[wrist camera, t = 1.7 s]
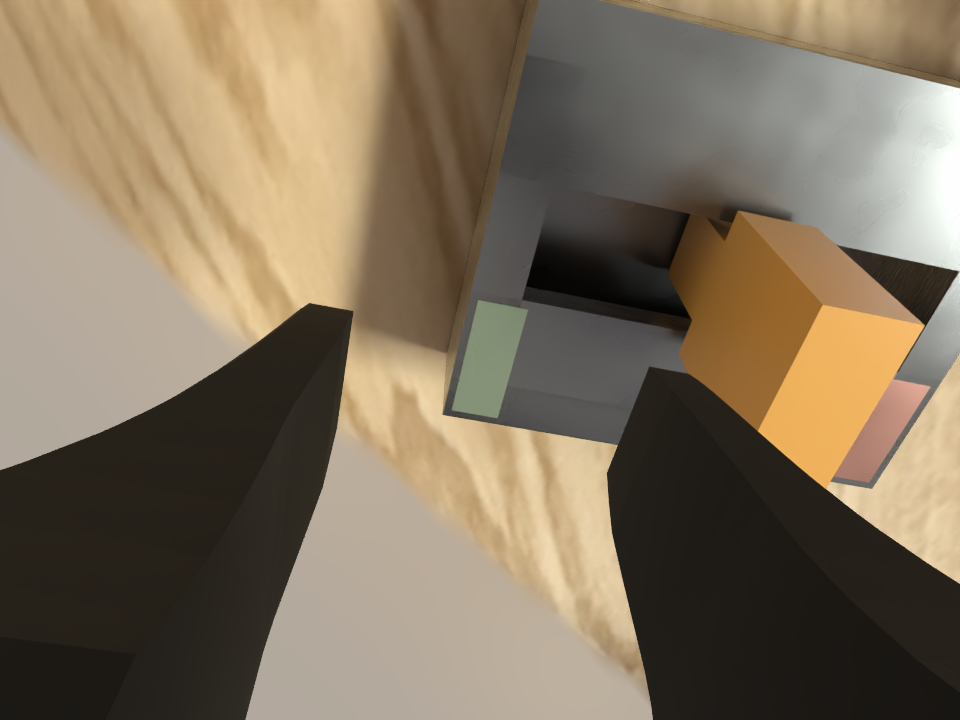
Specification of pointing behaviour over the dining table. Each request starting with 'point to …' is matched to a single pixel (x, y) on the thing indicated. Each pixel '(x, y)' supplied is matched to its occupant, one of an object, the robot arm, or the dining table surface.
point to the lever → (788, 333)
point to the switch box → (690, 207)
